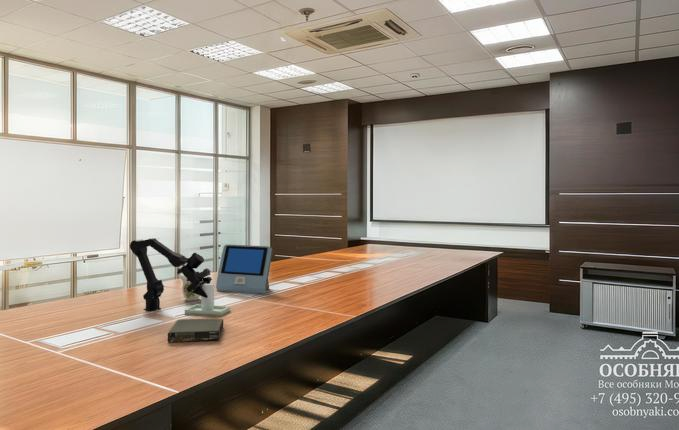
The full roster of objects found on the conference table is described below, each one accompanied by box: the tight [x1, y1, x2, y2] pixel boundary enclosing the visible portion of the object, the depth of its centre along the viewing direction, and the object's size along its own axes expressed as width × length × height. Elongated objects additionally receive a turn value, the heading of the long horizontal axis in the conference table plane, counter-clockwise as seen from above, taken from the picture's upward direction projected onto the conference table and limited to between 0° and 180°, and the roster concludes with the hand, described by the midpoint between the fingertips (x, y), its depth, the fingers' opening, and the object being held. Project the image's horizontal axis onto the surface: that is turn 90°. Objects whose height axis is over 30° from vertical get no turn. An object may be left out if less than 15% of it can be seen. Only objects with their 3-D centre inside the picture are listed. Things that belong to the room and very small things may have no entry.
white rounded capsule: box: [200, 283, 215, 310], centre depth 243 cm, size 6×6×13 cm
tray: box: [184, 303, 231, 317], centre depth 243 cm, size 20×12×2 cm, turn 80°
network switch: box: [167, 318, 224, 344], centre depth 204 cm, size 23×24×5 cm
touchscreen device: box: [215, 244, 274, 295], centre depth 302 cm, size 35×20×30 cm, turn 73°
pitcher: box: [178, 275, 201, 302], centre depth 273 cm, size 11×18×14 cm, turn 90°
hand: (210, 296), depth 243 cm, fingers open, 7 cm apart
